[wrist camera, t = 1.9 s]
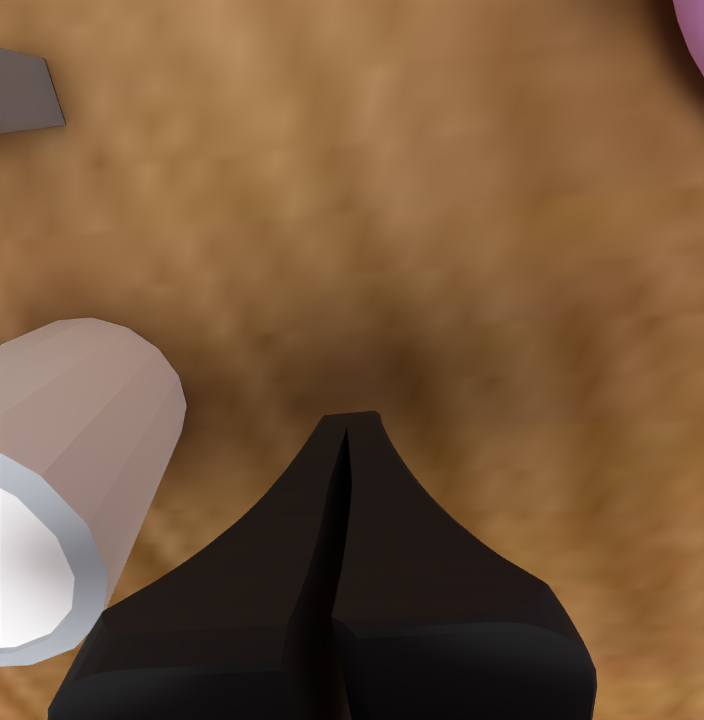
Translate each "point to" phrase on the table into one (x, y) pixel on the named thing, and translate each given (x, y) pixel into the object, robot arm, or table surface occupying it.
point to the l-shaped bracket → (26, 94)
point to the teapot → (692, 27)
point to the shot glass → (76, 474)
